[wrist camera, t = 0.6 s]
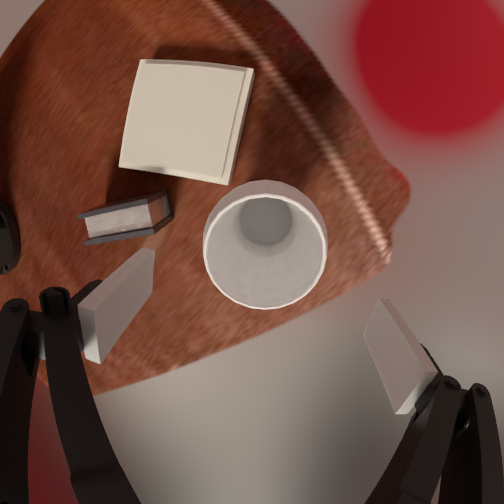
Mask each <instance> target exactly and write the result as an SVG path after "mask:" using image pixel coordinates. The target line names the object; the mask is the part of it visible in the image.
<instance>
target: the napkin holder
mask: <svg viewBox="0 0 504 504" xmlns="http://www.w3.org/2000/svg"><path fill="white" fill-rule="evenodd" d="M82 218H85V222H86V226H87V230H88V234H89V237H90V238H89V239H87V240H85V241H84V242H85V246H87V245H92V244H98V243H104V242H110V241H116V240H122V239H128V238H134V237H140V236H146V235H153V234H155V233H157V232H158V231H159V230H160V229H162V228H163V227H164V226H166V225H167V224H168V223H169V222H171V221H172V220H173V214H172V209H171V204H170V199H169V194H168V190H164V191H159V192H154V193H149V194H144V195H139V196H135V197H130V198H126V199H122V200H117V201H113V202H109V203H105V204H102V205H100V206H97V207H95V208H92V209H90V210H87V211H85V212H83V213H80V214H78V219H82Z"/></svg>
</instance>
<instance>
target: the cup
mask: <svg viewBox="0 0 504 504" xmlns="http://www.w3.org/2000/svg"><path fill="white" fill-rule="evenodd" d="M327 249H328V243H327V230H326V227H325V224H324V221H323V218H322V215H321V214H320V212H319V211H318V210H317V208H316V207H315V205H314V204H313V202H312V201H311V200H310V199H309V198H308V197H307V196H305V195H304V194H303V193H302V192H300V191H299V190H298V189H297V188H295V187H292V186H290V185H288V184H285V183H283V182H279V181H272V180H258V181H251V182H248V183H245V184H243V185H240V186H238V187H236V188H234V189H233V190H232V191H230V192H229V193H228V194H226V195H225V196H224V197H223V198H222V199H221V200H220V201H219V202H218V203H217V205H216V206H215V207H214V209H213V210H212V211H211V213H210V214H209V217H208V220H207V222H206V225H205V228H204V236H203V256H204V261H205V266H206V270H207V272H208V274H209V276H210V278H211V280H212V282H213V283H214V284H215V285H216V287H217V288H218V289H219V290H220V291H221V292H222V293H223V294H224V295H225V296H227V297H228V298H230V299H231V300H233V301H234V302H236V303H239V304H241V305H244V306H246V307H249V308H256V309H264V310H265V309H275V308H281V307H284V306H287V305H290V304H292V303H295V302H296V301H298V300H299V299H301V298H302V297H304V296H305V295H307V294H308V293H309V291H310V290H311V289H312V288H313V287H314V286H315V285H316V284H317V282H318V280H319V278H320V277H321V275H322V273H323V271H324V267H325V262H326V258H327Z"/></svg>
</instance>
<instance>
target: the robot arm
mask: <svg viewBox="0 0 504 504" xmlns="http://www.w3.org/2000/svg"><path fill="white" fill-rule="evenodd" d="M154 256H155V250H152V249H148V248H144V247H142V248H141V249H140V250H139V251H138V252H136V253H135V254H134V255H133V256H132V257H130V258H129V259H128V260H127V261H126V262H125V263H123V264H122V265H121V266H120V267H119V268H118V269H117V270H115V271H114V272H113V273H112V274H111V275H110V276H109V277H108V278H106V279H105V280H104V281H101V280H98V279H97V280H95V281H92V282H90V283H88V284H87V285H86V286H85V287H83V289H81V290H80V291H79V292H78V293H76V294H75V295H74V296H73V297H72V298H71V299H70V293H69V291H68V290H66V289H65V288H62V287H49V288H47V289H44V290H43V291H42V292H41V293H40V295H39V299H40V304H41V310H42V312H37V311H31V310H30V308H29V304H28V302H27V301H26V300H24V299H20V298H17V299H16V298H15V299H11V300H9V301H8V302H6V303H5V304H4V305H3V307H2V309H1V311H0V504H29V489H28V445H29V444H28V443H29V428H30V418H31V409H32V400H33V394H34V388H35V382H36V376H37V371H38V366H39V361H40V359H44V360H46V368H47V375H48V382H49V388H50V394H51V399H52V405H53V410H54V415H55V419H56V423H57V427H58V431H59V435H60V439H61V443H62V446H63V450H64V453H65V456H66V459H67V462H68V465H69V469H70V472H71V477H70V479H71V484H72V487H73V489H74V492H75V494H76V497H77V500H78V502H79V504H141V503H140V501H139V499H138V497H137V496H136V494H135V492H134V490H133V488H132V486H131V484H130V483H129V481H128V479H127V477H126V475H125V473H124V471H123V469H122V468H121V466H120V464H119V462H118V460H117V458H116V456H115V453H114V451H113V449H112V447H111V444H110V442H109V440H108V437H107V434H106V432H105V429H104V427H103V424H102V422H101V419H100V416H99V414H98V411H97V408H96V405H95V402H94V399H93V396H92V393H91V389H90V386H89V383H88V379H87V376H86V372H85V369H84V365H83V361H82V357H81V351H82V350H83V349H84V352H85V357H86V359H89V360H91V361H94V362H96V363H99V364H101V363H102V362H103V360H104V359H105V357H106V356H107V354H108V353H109V351H110V350H111V349H112V347H113V346H114V344H115V343H116V341H117V340H118V339H119V337H120V336H121V334H122V333H123V332H124V330H125V329H126V327H127V326H128V325H129V323H130V322H131V321H132V319H133V318H134V316H135V315H136V314H137V312H138V311H139V310H140V308H141V307H142V306H143V304H144V303H145V302H146V300H147V299H148V298H149V296H150V295H151V294H152V284H153V269H154ZM19 257H20V238H19V232H18V228H17V225H16V222H15V219H14V216H13V214H12V212H11V210H10V209H9V207H8V206H7V205H6V203H5V202H3V201H2V200H1V199H0V275H3V274H6V273H8V272H10V271H11V270H13V269H14V268H15V267H16V266H17V264H18V261H19ZM362 336H363V338H364V341H365V343H366V345H367V347H368V350H369V352H370V354H371V357H372V359H373V361H374V363H375V366H376V368H377V370H378V373H379V375H380V378H381V380H382V382H383V385H384V388H385V390H386V392H387V395H388V397H389V400H390V403H391V405H392V408H393V410H394V412H395V414H407V413H408V412H409V411H410V410H411V408H412V407H413V406H414V405H415V408H416V410H417V411H416V412H415V413H414V415H413V416H412V417H411V419H409V421H408V422H407V423H406V424H405V426H407V425H408V424H409V425H408V427H407V429H406V431H405V434H404V436H403V438H402V440H401V442H400V444H399V446H398V448H397V450H396V452H395V454H394V455H393V457H392V459H391V461H390V463H389V465H388V466H387V468H386V470H385V472H384V473H383V475H382V477H381V478H380V480H379V482H378V483H377V485H376V487H375V488H374V490H373V491H372V493H371V494H370V496H369V497H368V499H367V500H366V502H365V503H364V504H431V499H432V497H433V495H434V492H435V489H436V487H437V484H438V481H439V478H440V476H441V484H440V493H439V501H438V504H504V479H503V467H502V456H501V448H500V441H499V435H498V430H497V424H496V419H495V414H494V409H493V405H492V400H491V397H490V393H489V392H488V390H487V388H486V387H484V385H481V384H479V383H474V384H473V385H472V387H471V388H470V389H469V390H465V389H461V386H460V384H459V382H458V381H457V380H456V379H454V378H453V377H451V376H446V375H445V376H444V375H443V373H442V372H441V370H440V369H439V367H438V366H437V364H436V362H435V361H434V359H433V358H432V356H430V353H429V352H428V350H427V349H426V348H425V347H424V346H423V345H422V344H421V343H419V341H418V340H417V338H416V337H415V335H414V334H413V332H412V331H411V330H410V328H409V327H408V325H407V324H406V322H405V321H404V320H403V318H402V317H401V315H400V314H399V313H398V311H397V310H396V308H395V307H394V305H393V304H392V303H391V301H390V300H389V299H384V298H378V300H377V303H376V305H375V307H374V310H373V312H372V314H371V317H370V319H369V321H368V323H367V325H366V328H365V330H364V332H363V334H362ZM468 424H469V425H468ZM467 425H468V427H467V429H466V426H467Z"/></svg>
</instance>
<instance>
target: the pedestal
mask: <svg viewBox="0 0 504 504" xmlns="http://www.w3.org/2000/svg"><path fill="white" fill-rule="evenodd" d="M254 77H255V74H254V69H253V68H246V67H240V66H233V65H225V64H217V63H208V62H196V61H182V60H140V63H139V67H138V71H137V74H136V78H135V82H134V86H133V90H132V95H131V99H130V104H129V108H128V113H127V118H126V124H125V129H124V135H123V141H122V147H121V153H120V160H119V167H122V168H129V169H136V170H143V171H149V172H156V173H162V174H168V175H174V176H180V177H186V178H191V179H197V180H202V181H208V182H213V183H218V184H223V185H229V184H230V183H231V181H232V177H233V172H234V167H235V162H236V157H237V153H238V148H239V143H240V139H241V134H242V129H243V125H244V120H245V116H246V112H247V107H248V103H249V98H250V94H251V90H252V86H253V81H254Z"/></svg>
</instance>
